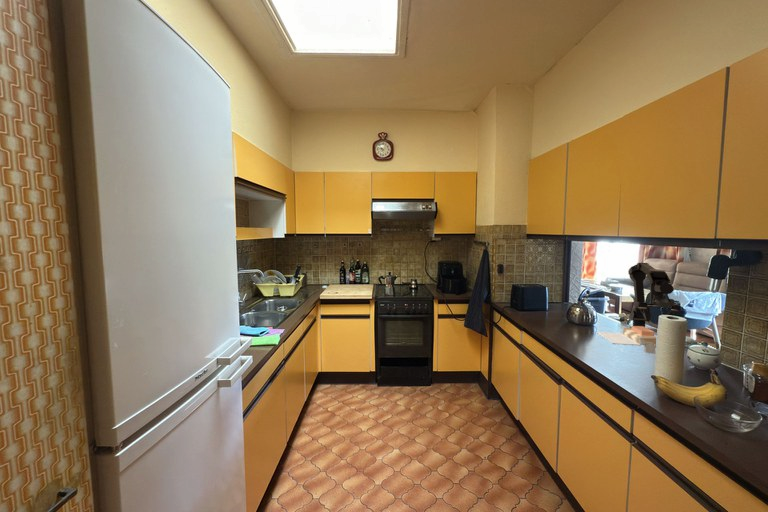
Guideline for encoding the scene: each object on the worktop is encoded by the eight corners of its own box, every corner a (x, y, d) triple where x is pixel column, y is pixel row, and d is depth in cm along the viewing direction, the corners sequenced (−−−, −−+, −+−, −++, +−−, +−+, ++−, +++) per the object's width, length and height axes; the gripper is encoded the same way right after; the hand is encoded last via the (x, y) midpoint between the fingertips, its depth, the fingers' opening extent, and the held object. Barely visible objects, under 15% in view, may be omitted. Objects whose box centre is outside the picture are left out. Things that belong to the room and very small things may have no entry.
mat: (596, 332, 181) (596, 331, 181) (621, 333, 179) (621, 333, 179) (613, 343, 164) (613, 343, 164) (640, 345, 161) (640, 344, 161)
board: (622, 334, 178) (622, 327, 177) (639, 335, 176) (640, 328, 176) (639, 344, 162) (640, 337, 162) (659, 345, 160) (659, 338, 160)
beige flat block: (653, 352, 152) (655, 337, 151) (655, 353, 151) (656, 338, 150) (636, 350, 155) (637, 335, 154) (638, 351, 153) (639, 336, 153)
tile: (631, 330, 173) (631, 325, 173) (643, 330, 172) (643, 326, 172) (641, 335, 165) (641, 331, 164) (654, 336, 163) (654, 331, 163)
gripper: (643, 292, 160) (643, 322, 159) (687, 295, 153) (688, 325, 152) (633, 291, 170) (633, 319, 169) (675, 294, 164) (675, 322, 163)
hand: (657, 321), depth 163 cm, fingers open, 9 cm apart
